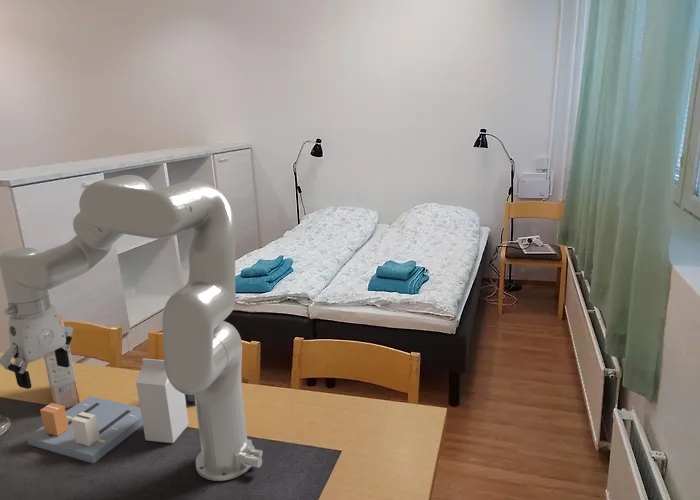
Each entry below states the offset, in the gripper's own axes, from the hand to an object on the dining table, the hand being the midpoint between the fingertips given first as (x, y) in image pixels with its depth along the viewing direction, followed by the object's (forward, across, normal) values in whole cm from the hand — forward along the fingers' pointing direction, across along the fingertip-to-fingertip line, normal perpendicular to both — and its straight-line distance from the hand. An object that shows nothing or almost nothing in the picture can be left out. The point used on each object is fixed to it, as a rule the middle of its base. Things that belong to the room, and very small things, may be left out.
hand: (45, 376), depth 116 cm
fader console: (+16, +5, -5) cm, 18 cm away
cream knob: (+14, 0, -10) cm, 17 cm away
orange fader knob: (+14, 0, 0) cm, 14 cm away
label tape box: (+16, +23, -18) cm, 34 cm away
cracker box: (+16, +14, +14) cm, 26 cm away
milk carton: (+16, +10, -23) cm, 30 cm away
